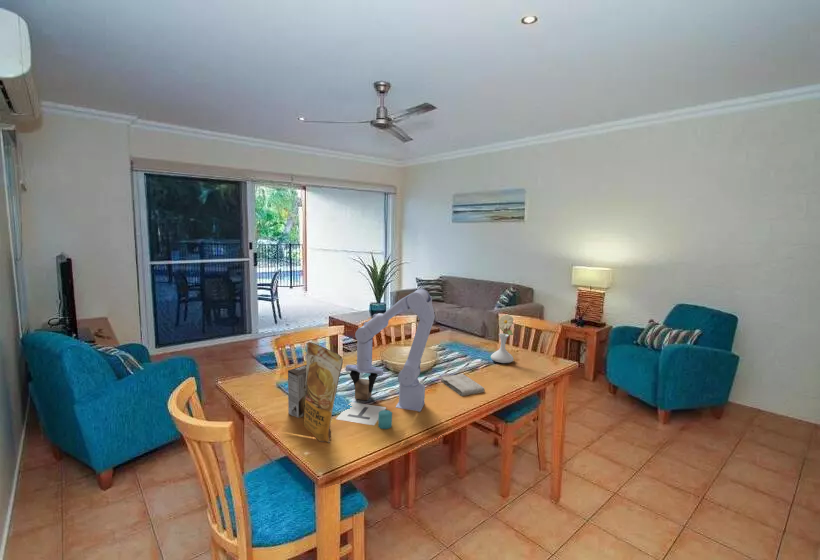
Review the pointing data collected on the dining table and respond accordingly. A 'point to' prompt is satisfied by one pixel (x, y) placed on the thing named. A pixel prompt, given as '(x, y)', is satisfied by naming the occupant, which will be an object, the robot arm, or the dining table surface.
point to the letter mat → (361, 413)
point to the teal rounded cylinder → (385, 419)
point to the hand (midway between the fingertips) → (363, 390)
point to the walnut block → (362, 389)
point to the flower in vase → (503, 341)
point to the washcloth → (462, 384)
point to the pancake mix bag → (320, 389)
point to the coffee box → (297, 391)
